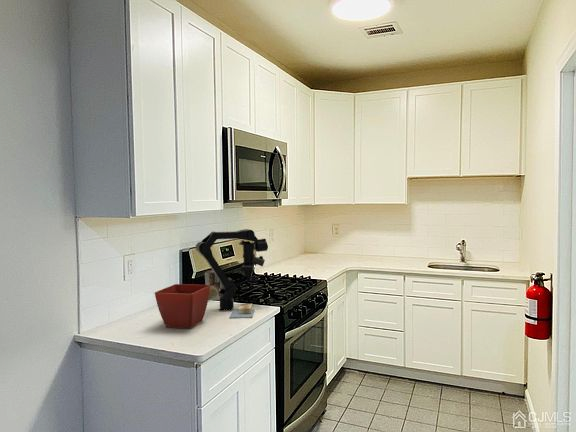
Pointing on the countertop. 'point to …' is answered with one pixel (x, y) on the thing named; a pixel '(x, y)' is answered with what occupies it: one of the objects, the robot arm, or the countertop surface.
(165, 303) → the plant pot
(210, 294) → the coffee box
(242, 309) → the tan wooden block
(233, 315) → the mat
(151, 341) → the countertop surface
